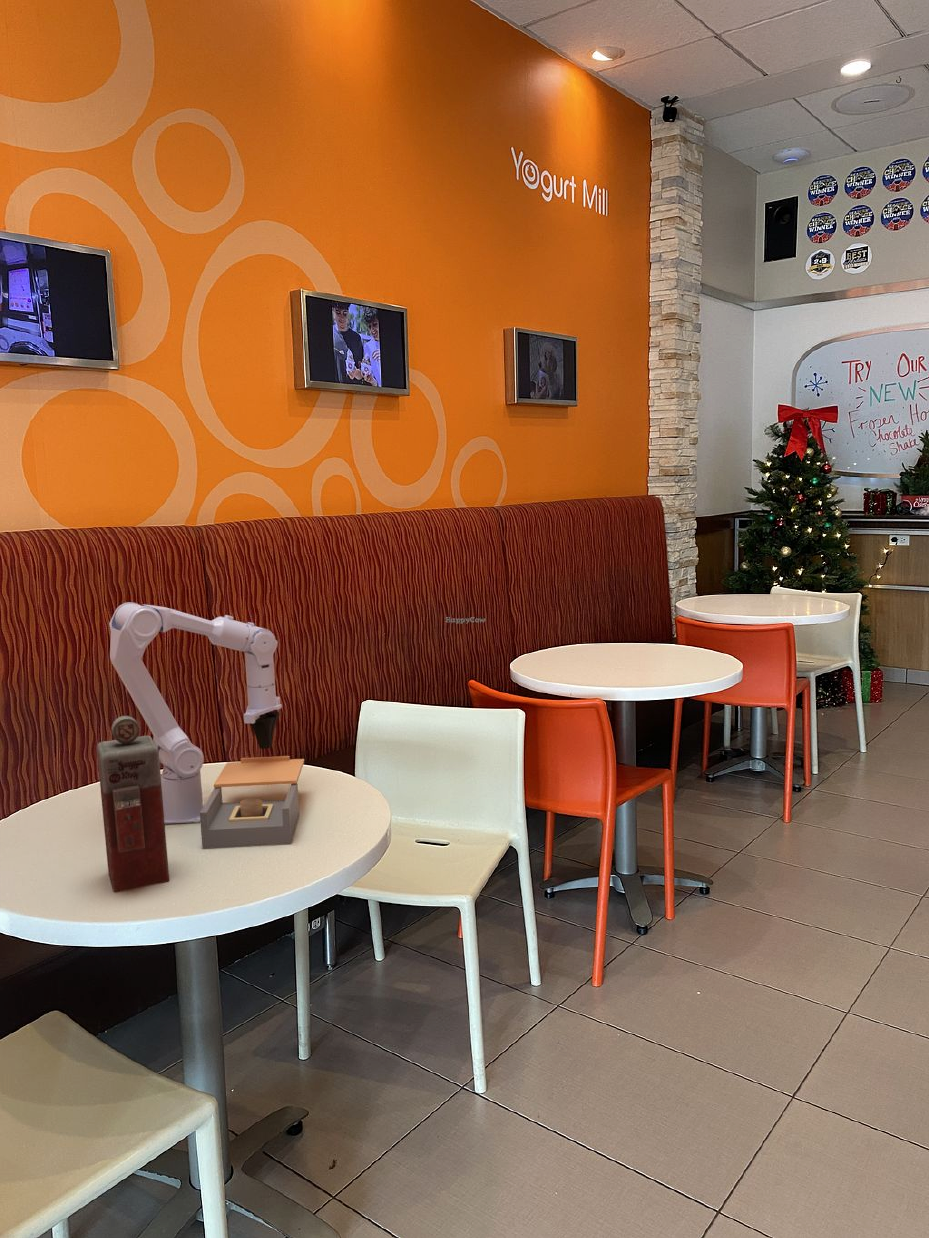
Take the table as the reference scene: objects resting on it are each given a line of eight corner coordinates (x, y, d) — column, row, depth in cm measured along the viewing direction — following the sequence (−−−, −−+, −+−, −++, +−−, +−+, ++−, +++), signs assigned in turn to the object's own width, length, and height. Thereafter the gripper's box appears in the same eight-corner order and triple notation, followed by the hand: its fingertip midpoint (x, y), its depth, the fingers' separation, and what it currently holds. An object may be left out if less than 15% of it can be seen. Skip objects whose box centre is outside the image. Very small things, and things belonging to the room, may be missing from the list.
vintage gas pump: (114, 898, 152) (99, 730, 147) (108, 872, 162) (93, 714, 157) (171, 886, 155) (158, 722, 151) (162, 861, 165) (149, 707, 161)
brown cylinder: (240, 836, 176) (238, 805, 175) (244, 828, 180) (242, 798, 179) (262, 835, 176) (260, 804, 175) (265, 827, 180) (263, 797, 179)
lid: (213, 787, 182) (213, 780, 182) (227, 765, 196) (226, 758, 196) (296, 783, 183) (296, 776, 183) (304, 761, 197) (303, 755, 197)
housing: (202, 848, 171) (199, 812, 170) (217, 820, 185) (215, 787, 183) (290, 843, 172) (288, 808, 171) (299, 816, 185) (297, 783, 184)
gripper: (265, 693, 186) (270, 758, 188) (292, 676, 200) (296, 738, 202) (232, 692, 187) (237, 758, 190) (261, 676, 201) (265, 737, 204)
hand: (265, 747), depth 196 cm, fingers closed
